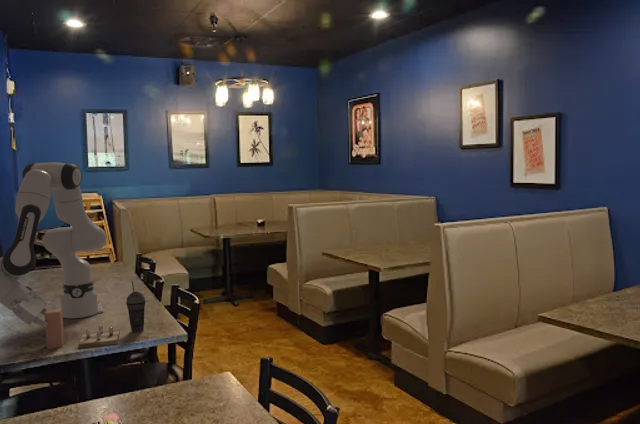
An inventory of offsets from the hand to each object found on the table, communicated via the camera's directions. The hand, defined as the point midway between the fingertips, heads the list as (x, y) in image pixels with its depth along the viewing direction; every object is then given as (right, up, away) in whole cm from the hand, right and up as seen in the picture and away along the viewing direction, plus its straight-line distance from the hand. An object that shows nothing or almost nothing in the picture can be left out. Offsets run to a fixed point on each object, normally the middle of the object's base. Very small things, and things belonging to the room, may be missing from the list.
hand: (49, 321), depth 190 cm
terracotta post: (+2, -9, +1) cm, 9 cm away
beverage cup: (+26, -7, +16) cm, 32 cm away
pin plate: (+16, -8, +6) cm, 19 cm away
